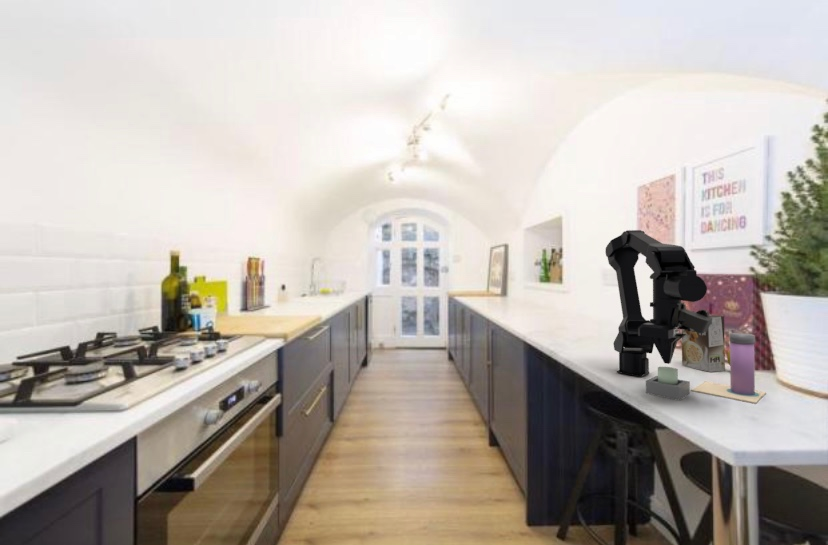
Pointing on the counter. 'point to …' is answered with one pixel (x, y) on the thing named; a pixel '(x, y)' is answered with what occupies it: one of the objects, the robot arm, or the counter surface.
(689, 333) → the coffee box
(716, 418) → the counter surface
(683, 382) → the button housing
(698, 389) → the beige coaster
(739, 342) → the purple canister
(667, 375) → the button
